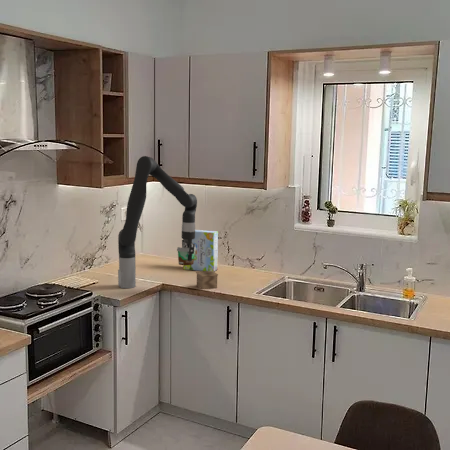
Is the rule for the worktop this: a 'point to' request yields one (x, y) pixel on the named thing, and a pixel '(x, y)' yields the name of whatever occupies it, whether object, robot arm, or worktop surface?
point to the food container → (185, 256)
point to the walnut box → (207, 279)
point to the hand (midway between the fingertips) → (187, 259)
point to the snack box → (205, 251)
